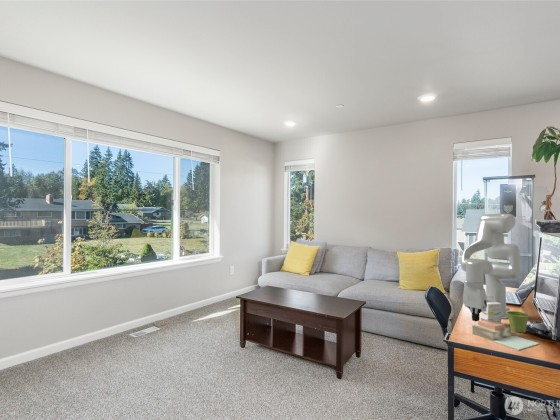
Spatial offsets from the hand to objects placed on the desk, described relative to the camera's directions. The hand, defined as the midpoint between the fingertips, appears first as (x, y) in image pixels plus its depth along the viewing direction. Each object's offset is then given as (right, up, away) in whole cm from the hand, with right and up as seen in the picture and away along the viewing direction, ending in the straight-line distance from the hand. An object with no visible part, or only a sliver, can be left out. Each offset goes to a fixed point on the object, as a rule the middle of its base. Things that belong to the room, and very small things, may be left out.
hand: (475, 320), depth 159 cm
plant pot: (+20, -5, -2) cm, 21 cm away
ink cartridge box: (+14, -5, +8) cm, 17 cm away
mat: (+8, -4, -17) cm, 19 cm away
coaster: (+3, -1, -7) cm, 8 cm away
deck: (+3, -5, -7) cm, 9 cm away
